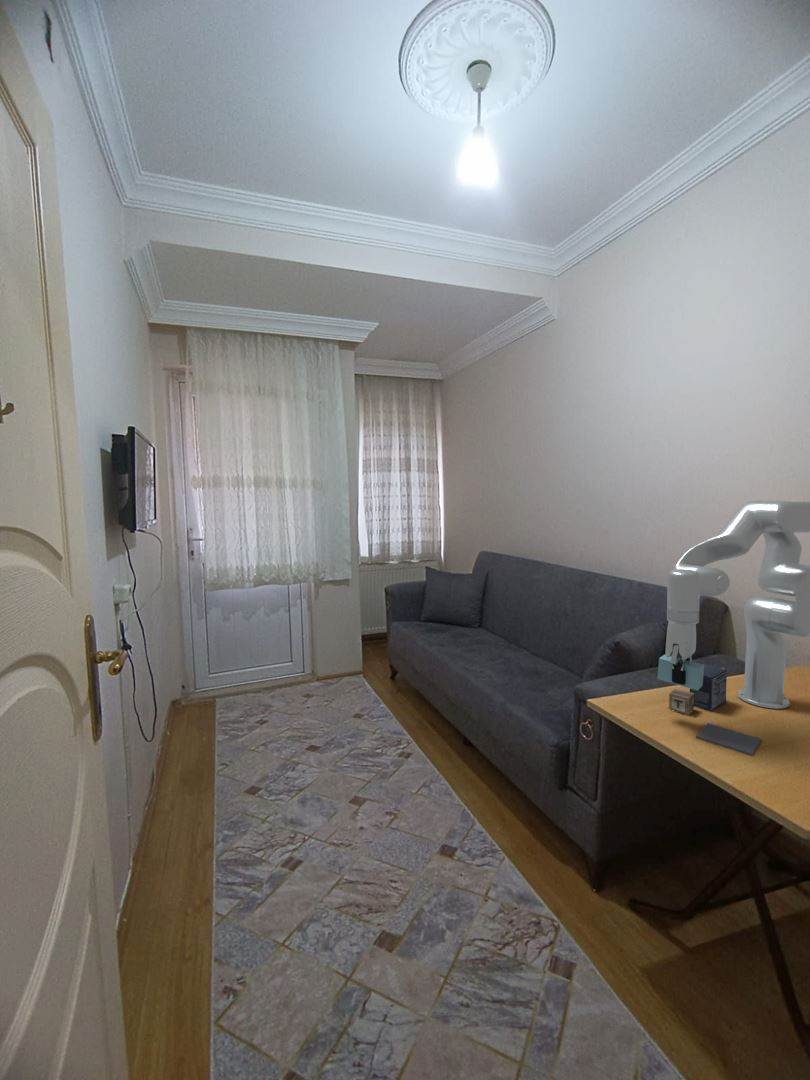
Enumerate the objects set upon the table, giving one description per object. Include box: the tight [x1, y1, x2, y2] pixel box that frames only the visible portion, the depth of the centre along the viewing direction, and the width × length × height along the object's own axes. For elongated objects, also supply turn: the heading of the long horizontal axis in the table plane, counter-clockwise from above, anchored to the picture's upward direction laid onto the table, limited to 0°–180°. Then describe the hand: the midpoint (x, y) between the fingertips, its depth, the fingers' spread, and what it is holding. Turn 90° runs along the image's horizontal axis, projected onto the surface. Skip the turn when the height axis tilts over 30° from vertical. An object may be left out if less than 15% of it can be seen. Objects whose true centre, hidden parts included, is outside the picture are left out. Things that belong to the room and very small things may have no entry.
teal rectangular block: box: [657, 654, 704, 691], centre depth 131 cm, size 4×10×6 cm, turn 43°
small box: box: [689, 663, 728, 712], centre depth 143 cm, size 11×6×10 cm, turn 126°
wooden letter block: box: [668, 688, 695, 716], centre depth 139 cm, size 6×5×5 cm
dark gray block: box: [695, 722, 762, 756], centre depth 122 cm, size 10×12×1 cm
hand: (681, 680), depth 131 cm, fingers closed on teal rectangular block, 4 cm apart
